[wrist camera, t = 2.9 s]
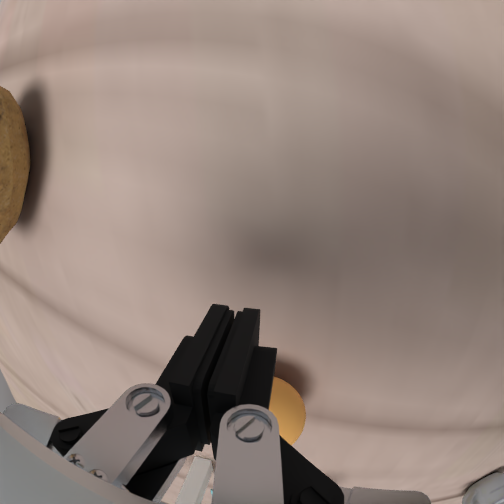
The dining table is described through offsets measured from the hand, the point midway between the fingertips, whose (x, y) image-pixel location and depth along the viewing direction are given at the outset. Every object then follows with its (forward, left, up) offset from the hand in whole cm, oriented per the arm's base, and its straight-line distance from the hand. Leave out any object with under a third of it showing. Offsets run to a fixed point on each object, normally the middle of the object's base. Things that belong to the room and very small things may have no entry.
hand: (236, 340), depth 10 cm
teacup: (-45, +41, -7) cm, 61 cm away
